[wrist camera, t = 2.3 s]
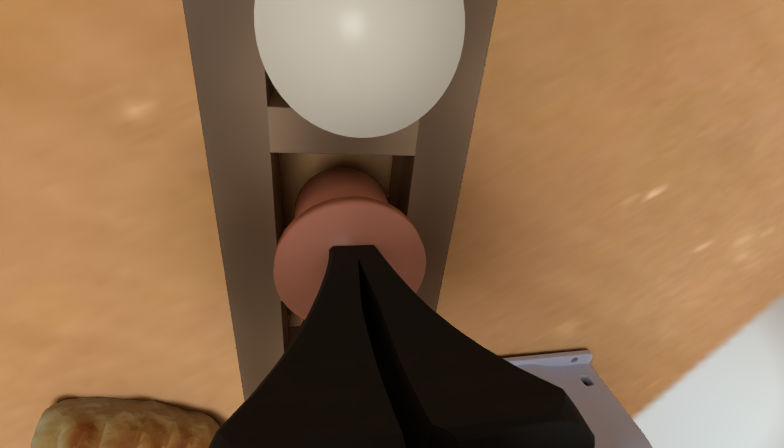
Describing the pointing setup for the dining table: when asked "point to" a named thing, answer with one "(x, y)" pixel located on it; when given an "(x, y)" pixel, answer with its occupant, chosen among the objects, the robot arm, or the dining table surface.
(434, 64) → the cream plug
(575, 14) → the dining table surface
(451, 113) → the plug block
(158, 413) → the pastry
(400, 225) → the red plug
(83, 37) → the dining table surface
